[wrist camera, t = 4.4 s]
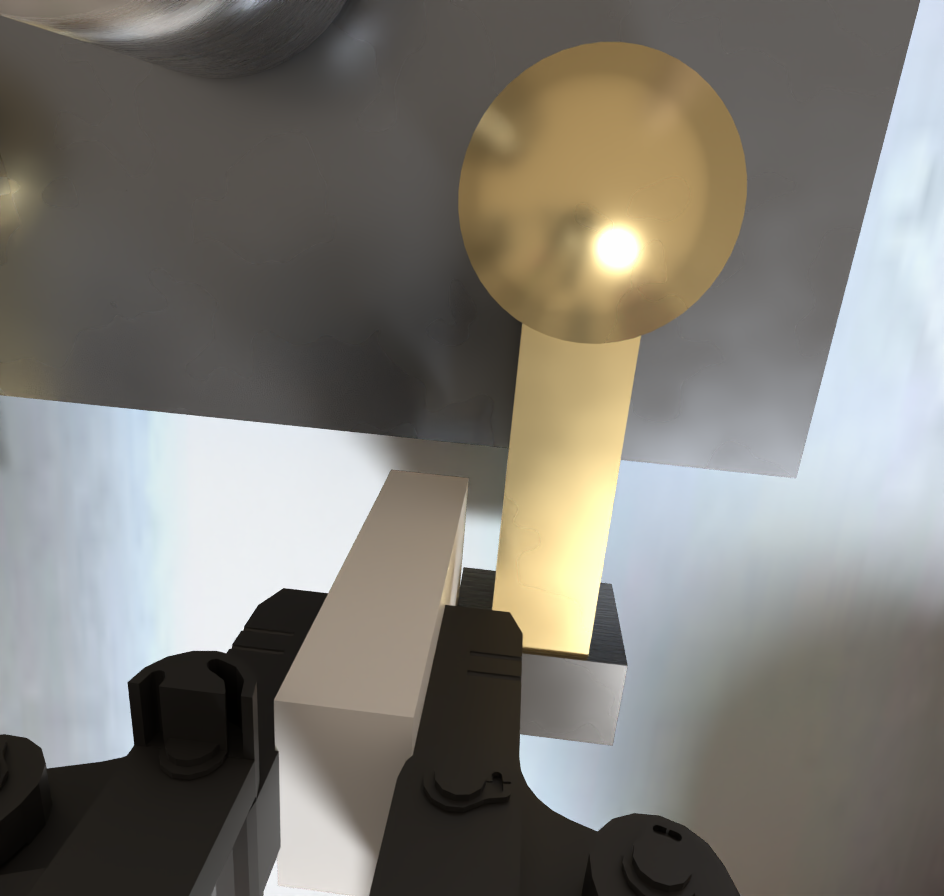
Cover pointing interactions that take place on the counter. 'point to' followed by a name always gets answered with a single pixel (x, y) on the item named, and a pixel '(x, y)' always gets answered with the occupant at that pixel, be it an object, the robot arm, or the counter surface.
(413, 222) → the levelling base
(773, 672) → the counter surface
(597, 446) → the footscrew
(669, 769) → the counter surface
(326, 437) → the counter surface
